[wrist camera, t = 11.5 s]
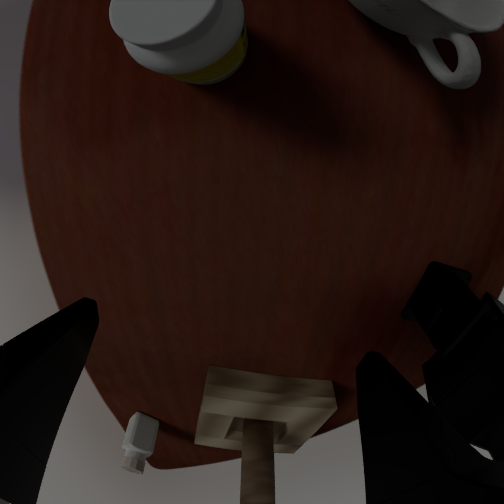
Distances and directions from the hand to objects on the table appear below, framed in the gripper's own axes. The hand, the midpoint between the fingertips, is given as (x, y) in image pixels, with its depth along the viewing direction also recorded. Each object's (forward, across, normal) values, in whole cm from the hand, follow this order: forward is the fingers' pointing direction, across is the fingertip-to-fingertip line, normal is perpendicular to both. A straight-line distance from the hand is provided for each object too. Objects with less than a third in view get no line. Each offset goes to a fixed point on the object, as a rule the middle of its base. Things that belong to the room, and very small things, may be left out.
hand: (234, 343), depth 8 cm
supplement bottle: (+13, +5, -10) cm, 17 cm away
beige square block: (+13, -7, +25) cm, 29 cm away
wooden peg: (+10, -7, +25) cm, 28 cm away
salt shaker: (+13, +8, +36) cm, 39 cm away
